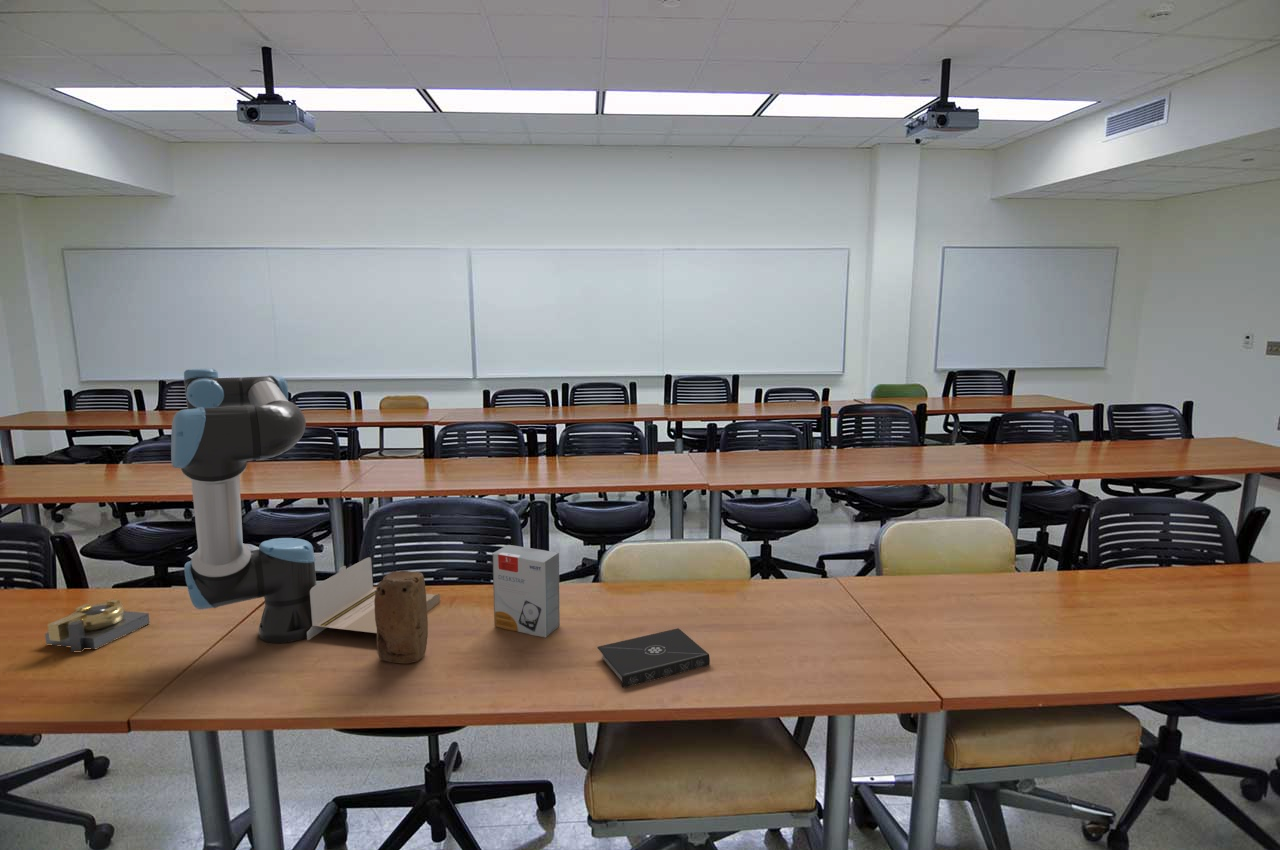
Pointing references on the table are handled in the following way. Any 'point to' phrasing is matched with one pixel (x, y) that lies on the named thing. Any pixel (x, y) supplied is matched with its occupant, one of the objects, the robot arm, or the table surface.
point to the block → (401, 617)
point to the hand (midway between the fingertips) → (214, 512)
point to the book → (653, 656)
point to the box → (348, 601)
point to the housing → (100, 632)
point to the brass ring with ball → (88, 618)
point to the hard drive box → (526, 590)
